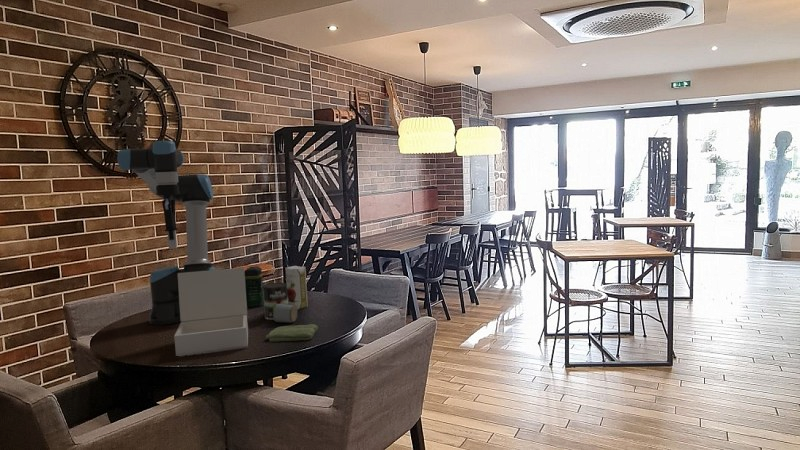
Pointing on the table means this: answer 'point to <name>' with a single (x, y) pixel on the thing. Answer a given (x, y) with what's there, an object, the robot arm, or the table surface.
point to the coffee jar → (254, 286)
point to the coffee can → (274, 297)
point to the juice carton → (296, 286)
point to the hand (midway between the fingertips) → (172, 248)
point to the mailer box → (211, 335)
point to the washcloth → (292, 333)
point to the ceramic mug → (285, 313)
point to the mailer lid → (212, 294)
